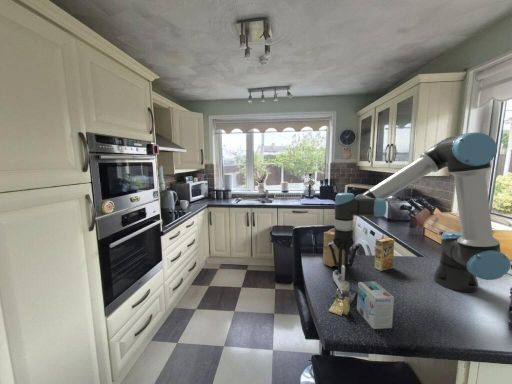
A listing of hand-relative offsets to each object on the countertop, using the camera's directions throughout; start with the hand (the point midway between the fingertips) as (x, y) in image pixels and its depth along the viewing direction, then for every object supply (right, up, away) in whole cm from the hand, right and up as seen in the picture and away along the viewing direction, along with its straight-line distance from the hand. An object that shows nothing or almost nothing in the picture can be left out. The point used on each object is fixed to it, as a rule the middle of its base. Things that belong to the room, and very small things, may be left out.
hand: (342, 280), depth 102 cm
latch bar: (-2, -1, -4) cm, 4 cm away
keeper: (-7, -4, -16) cm, 18 cm away
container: (+4, 0, +22) cm, 22 cm away
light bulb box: (+2, -5, -23) cm, 23 cm away
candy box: (+28, 0, +17) cm, 32 cm away
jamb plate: (-3, -3, -9) cm, 10 cm away
